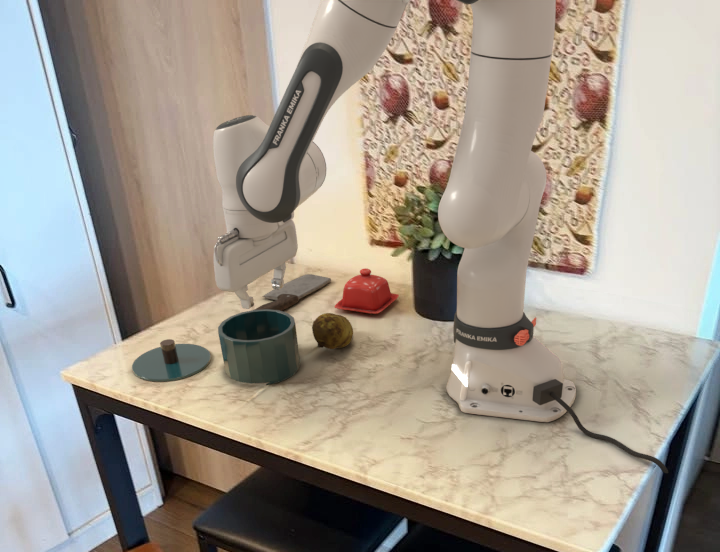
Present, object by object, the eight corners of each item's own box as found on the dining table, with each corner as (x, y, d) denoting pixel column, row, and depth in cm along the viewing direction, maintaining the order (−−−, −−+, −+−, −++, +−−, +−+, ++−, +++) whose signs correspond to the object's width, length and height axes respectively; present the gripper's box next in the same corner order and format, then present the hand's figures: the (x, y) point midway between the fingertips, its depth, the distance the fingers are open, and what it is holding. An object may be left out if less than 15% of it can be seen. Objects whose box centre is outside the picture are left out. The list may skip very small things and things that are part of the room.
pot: (314, 358, 149) (309, 315, 143) (271, 392, 139) (265, 347, 133) (255, 346, 155) (248, 304, 150) (210, 377, 145) (201, 334, 140)
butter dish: (356, 293, 174) (353, 257, 169) (401, 300, 170) (400, 263, 165) (332, 312, 166) (328, 275, 161) (379, 320, 162) (377, 281, 157)
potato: (369, 337, 155) (367, 300, 150) (336, 364, 146) (333, 326, 142) (335, 330, 159) (332, 294, 154) (301, 356, 150) (296, 318, 145)
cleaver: (258, 327, 162) (257, 318, 160) (223, 319, 166) (222, 310, 165) (335, 281, 181) (334, 273, 180) (302, 275, 186) (301, 267, 185)
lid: (227, 356, 152) (222, 333, 149) (176, 390, 141) (170, 366, 138) (169, 343, 159) (164, 320, 156) (116, 375, 148) (110, 351, 145)
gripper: (228, 241, 121) (243, 322, 129) (298, 205, 135) (308, 279, 143) (198, 238, 123) (214, 317, 131) (270, 202, 137) (280, 276, 145)
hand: (263, 297), depth 137 cm, fingers open, 8 cm apart
